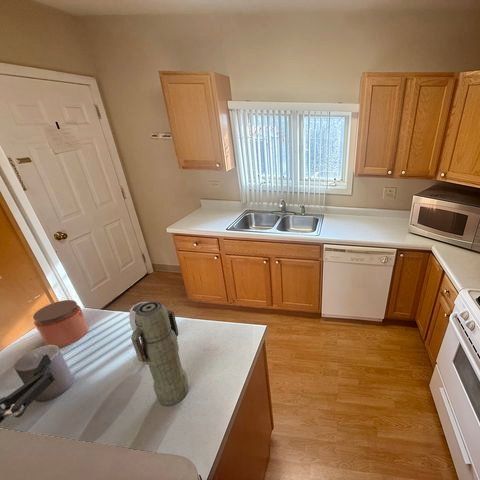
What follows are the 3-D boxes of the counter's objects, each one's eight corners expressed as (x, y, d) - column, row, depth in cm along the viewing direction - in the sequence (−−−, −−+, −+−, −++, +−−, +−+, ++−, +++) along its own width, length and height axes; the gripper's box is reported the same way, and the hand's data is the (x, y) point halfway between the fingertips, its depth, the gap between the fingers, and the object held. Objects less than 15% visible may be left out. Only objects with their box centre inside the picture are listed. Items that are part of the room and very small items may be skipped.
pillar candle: (25, 405, 77) (1, 371, 71) (44, 378, 85) (25, 345, 79) (65, 396, 80) (46, 363, 74) (80, 370, 88) (64, 338, 82)
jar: (36, 350, 95) (20, 323, 90) (59, 326, 107) (47, 301, 102) (77, 345, 98) (64, 319, 93) (95, 322, 110) (85, 297, 105)
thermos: (147, 407, 78) (114, 318, 64) (175, 374, 89) (152, 292, 74) (171, 415, 76) (143, 325, 62) (197, 380, 87) (178, 297, 73)
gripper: (-134, 499, 46) (-52, 398, 63) (52, 431, 57) (78, 360, 74) (-164, 478, 43) (-70, 377, 60) (38, 410, 54) (69, 341, 71)
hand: (12, 367), depth 67 cm, fingers open, 13 cm apart
